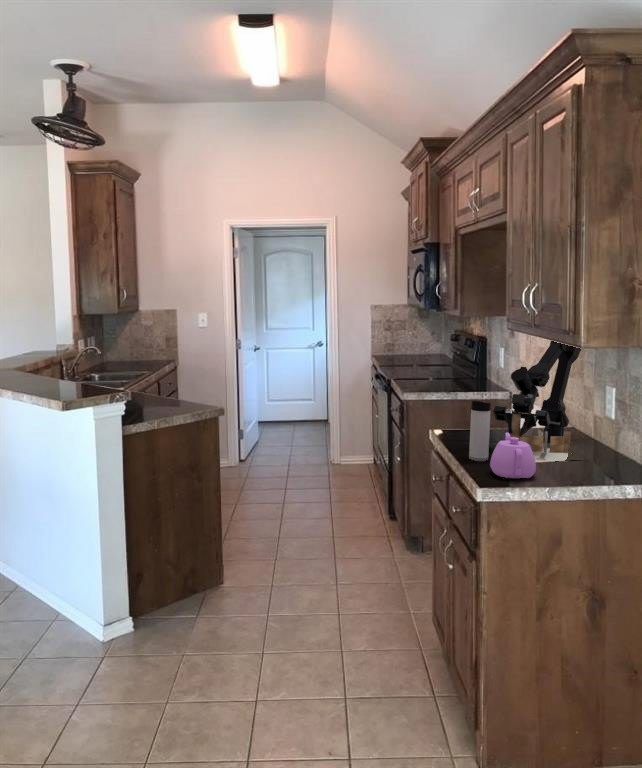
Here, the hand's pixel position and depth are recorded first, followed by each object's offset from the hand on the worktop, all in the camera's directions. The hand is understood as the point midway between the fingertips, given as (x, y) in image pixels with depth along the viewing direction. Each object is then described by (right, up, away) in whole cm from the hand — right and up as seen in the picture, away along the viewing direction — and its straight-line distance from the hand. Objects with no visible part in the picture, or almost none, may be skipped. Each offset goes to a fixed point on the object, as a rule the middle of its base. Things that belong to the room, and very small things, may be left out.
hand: (514, 435), depth 245 cm
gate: (+5, -6, +4) cm, 9 cm away
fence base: (+16, -7, +6) cm, 19 cm away
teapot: (-8, -10, -25) cm, 28 cm away
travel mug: (-14, -8, -6) cm, 17 cm away
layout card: (+11, -7, +2) cm, 13 cm away
